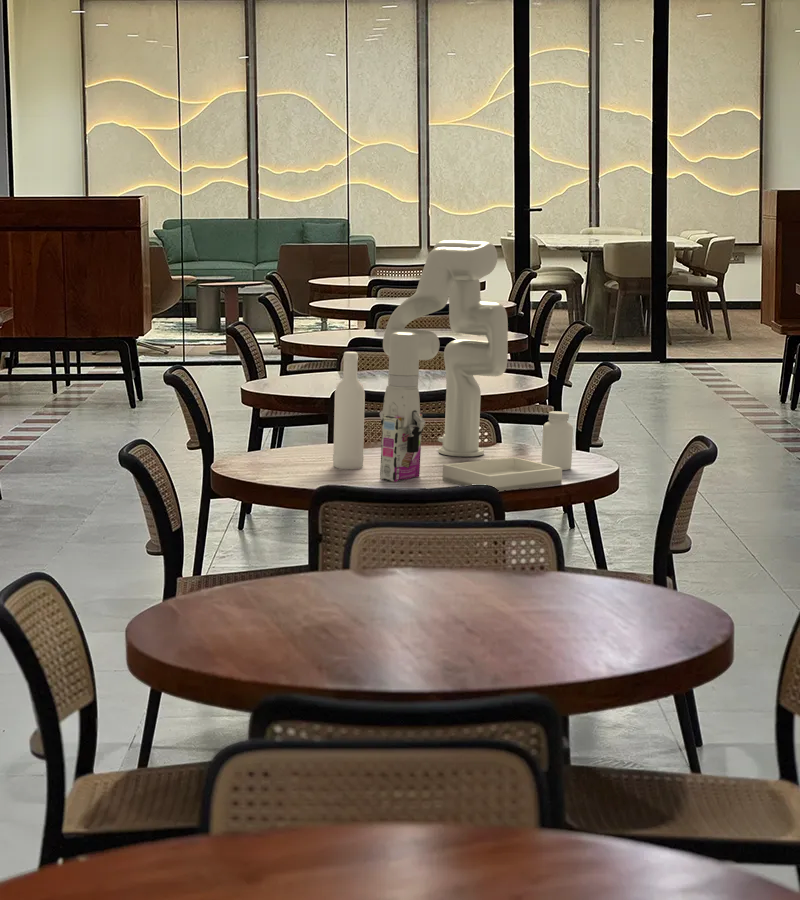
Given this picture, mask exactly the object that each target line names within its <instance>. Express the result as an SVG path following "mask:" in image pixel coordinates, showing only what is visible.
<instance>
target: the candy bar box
mask: <svg viewBox="0 0 800 900" xmlns="http://www.w3.org/2000/svg"><path fill="white" fill-rule="evenodd" d="M420 416H421V417H422V418H423V414H422V413H420ZM381 426H382V427H381V428H382V429H381V445H380V448H381V451H380V469H379V470H380V471H379V474H380V475H379V480H381V481H385V482H389V483H390V482H391V483H396V482H400V481H406V480H410V479H415V478H419V477H420V474H421V473H420V472H421V454H422V453H421V451H422V432H423V431H422V432H421V436H419V450H418V452H413V453H408V452H407V438H408V437H410V436H409V434H408V431H407V429H406V428H401V417H398V416H395V415H384V416H383V421H382V424H381ZM413 430H414V429H412V431H413Z"/></svg>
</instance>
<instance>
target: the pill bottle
mask: <svg viewBox="0 0 800 900" xmlns="http://www.w3.org/2000/svg"><path fill="white" fill-rule="evenodd" d="M569 419H570V412H567V411H561V410H560V411H558V410H557V411H556V410H555V411H549V412H548V419H547V420H548V421H547V422H545V423H544V424H543V427H542V444H541V445H542V446H541V463H543V464H547V465H551V466H556V467H560V468H562V471H568V470H570V469H571V468H572V463H573V462H572V459H573V436H574V435H573V434H574V427H573V425H572V423H570V422H569Z"/></svg>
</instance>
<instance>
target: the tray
mask: <svg viewBox="0 0 800 900" xmlns="http://www.w3.org/2000/svg"><path fill="white" fill-rule="evenodd" d="M562 477H563V470H562V468H560V467H556V466H551V465H547V464H543V463H542V462H539V461H533V460H529V459H524V458H521V457H517V456H511V457H504V458H492V459H483V460H476V461H466V462H456V463H445V464H442V481H444V482H448V483H452V484H454V485H459V486H462V485H472V484H486V485H491V486H494V487H496V488H497V489H498V490H499V491H498V492H505V491H504V490H506V491H512V490H511V489H514V490H520V489H519V488H522V489H529V487H530V488H536V486H538V487H545V486H546V487H547V486H551V485H552V486H553V485H554V486H555V485H561V484H562V483H563V482H562V479H563V478H562Z"/></svg>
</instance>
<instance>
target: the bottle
mask: <svg viewBox="0 0 800 900" xmlns="http://www.w3.org/2000/svg"><path fill="white" fill-rule="evenodd" d="M342 357H343V358H342V360H343V367H342V368H343V372H342V373H343V374H342V379H341V381H339V382H338V383H337V385H336V387H335V391H334V410H333V411H334V412H333V416H334V417H333V453H332V462H333V464H332V466H333V468H336V469H341V470H356V469H357V470H358V469H359V470H360V469H362V468H363V467H364V458H365V457H364V443H365V442H364V439H365V438H364V437H365V433H364V432H365V402H366V401H365V399H366V392H365V388H364V386H363V384H362V383H361V382H360V380H359V379H358V364H359V362H358V361H359V353H358V352H356V351H344V353H343V356H342Z"/></svg>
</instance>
